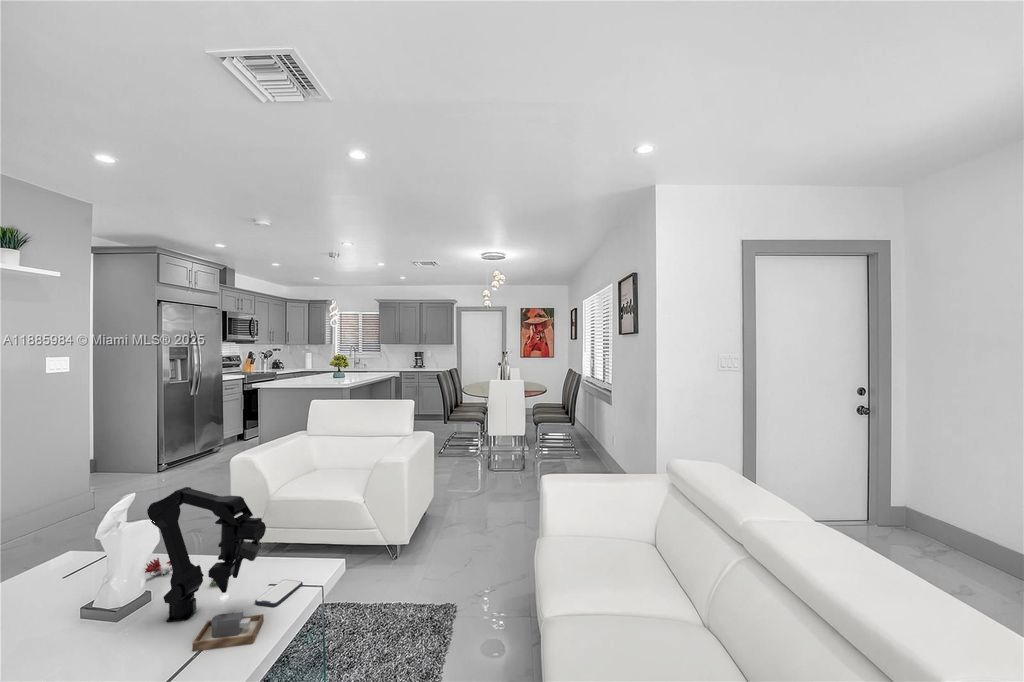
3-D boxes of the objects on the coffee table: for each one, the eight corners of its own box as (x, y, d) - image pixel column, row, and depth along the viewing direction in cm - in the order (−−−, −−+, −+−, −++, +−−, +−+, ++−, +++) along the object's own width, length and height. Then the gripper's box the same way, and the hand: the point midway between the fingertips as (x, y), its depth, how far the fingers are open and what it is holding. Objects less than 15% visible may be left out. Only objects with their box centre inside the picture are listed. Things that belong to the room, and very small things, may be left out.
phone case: (283, 583, 177) (252, 605, 162) (283, 579, 177) (252, 601, 162) (304, 585, 176) (275, 608, 160) (304, 581, 176) (275, 604, 160)
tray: (192, 651, 137) (192, 643, 137) (207, 628, 148) (207, 620, 148) (253, 643, 141) (253, 635, 141) (263, 621, 152) (263, 614, 152)
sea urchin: (207, 597, 166) (208, 576, 166) (191, 587, 172) (191, 567, 172) (242, 582, 176) (242, 562, 176) (225, 573, 182) (225, 554, 182)
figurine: (171, 562, 191) (171, 546, 191) (191, 567, 187) (191, 551, 187) (130, 579, 177) (130, 562, 177) (150, 585, 173) (150, 567, 173)
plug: (209, 638, 142) (209, 622, 142) (214, 630, 146) (214, 614, 146) (247, 634, 144) (247, 618, 144) (251, 626, 148) (251, 610, 148)
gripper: (248, 548, 145) (246, 598, 145) (267, 524, 163) (265, 569, 163) (208, 550, 143) (206, 601, 143) (232, 526, 161) (230, 571, 161)
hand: (229, 584), depth 152 cm, fingers open, 9 cm apart
